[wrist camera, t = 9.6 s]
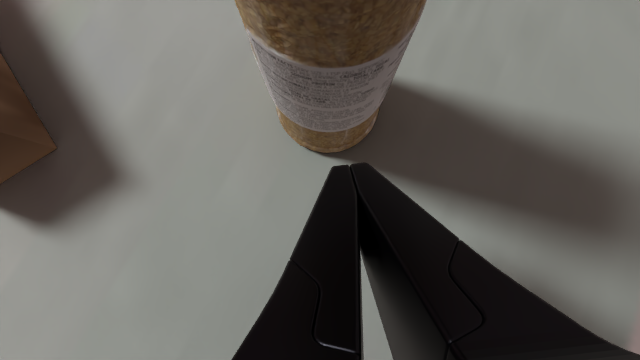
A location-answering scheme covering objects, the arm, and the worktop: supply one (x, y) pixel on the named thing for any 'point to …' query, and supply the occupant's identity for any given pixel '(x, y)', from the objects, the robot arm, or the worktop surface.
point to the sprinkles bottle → (329, 62)
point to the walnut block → (19, 128)
